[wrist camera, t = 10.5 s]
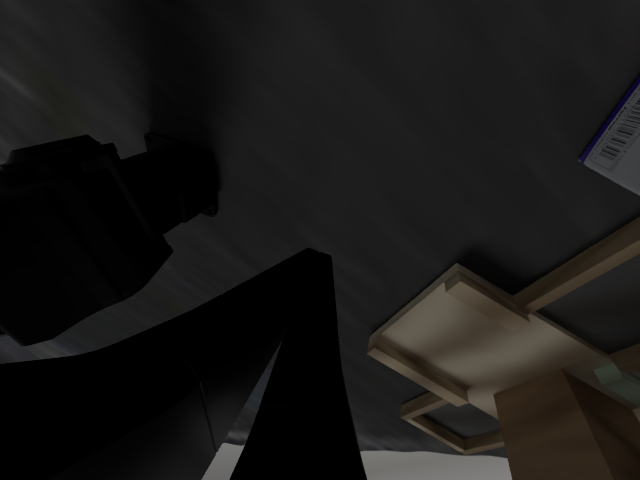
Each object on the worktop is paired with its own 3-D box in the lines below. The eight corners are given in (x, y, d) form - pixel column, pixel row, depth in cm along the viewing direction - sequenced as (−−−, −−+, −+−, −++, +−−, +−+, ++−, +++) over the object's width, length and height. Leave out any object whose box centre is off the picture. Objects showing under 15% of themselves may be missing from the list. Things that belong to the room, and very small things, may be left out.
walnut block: (493, 394, 26) (521, 519, 19) (561, 368, 22) (631, 517, 14) (552, 428, 26) (602, 566, 19) (632, 410, 22) (736, 578, 15)
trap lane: (334, 366, 34) (325, 397, 31) (567, 168, 15) (607, 196, 12) (484, 453, 34) (491, 492, 31) (895, 366, 15) (1019, 444, 12)
